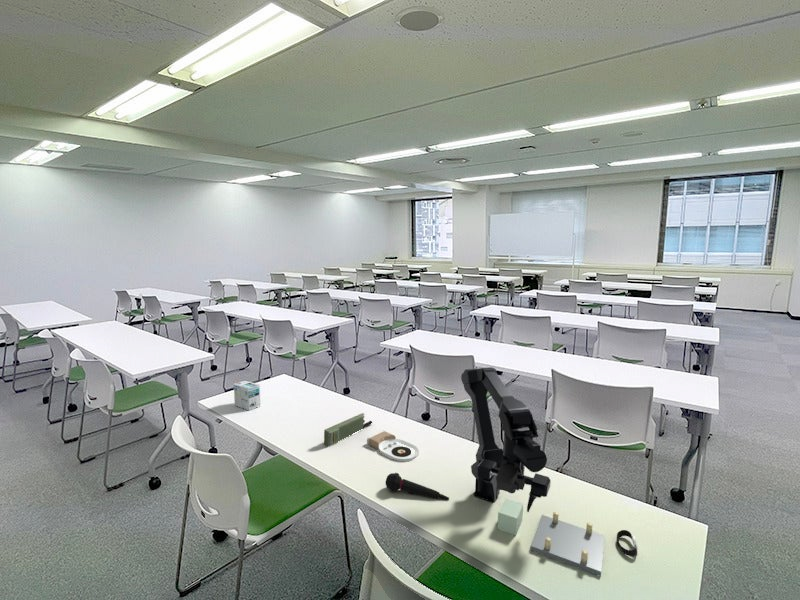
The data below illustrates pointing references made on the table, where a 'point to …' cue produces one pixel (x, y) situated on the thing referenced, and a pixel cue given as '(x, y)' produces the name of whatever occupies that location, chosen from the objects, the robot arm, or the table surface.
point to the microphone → (411, 487)
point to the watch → (627, 533)
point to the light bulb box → (247, 395)
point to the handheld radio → (344, 429)
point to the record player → (392, 446)
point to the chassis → (569, 543)
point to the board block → (510, 516)
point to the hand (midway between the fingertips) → (510, 505)
